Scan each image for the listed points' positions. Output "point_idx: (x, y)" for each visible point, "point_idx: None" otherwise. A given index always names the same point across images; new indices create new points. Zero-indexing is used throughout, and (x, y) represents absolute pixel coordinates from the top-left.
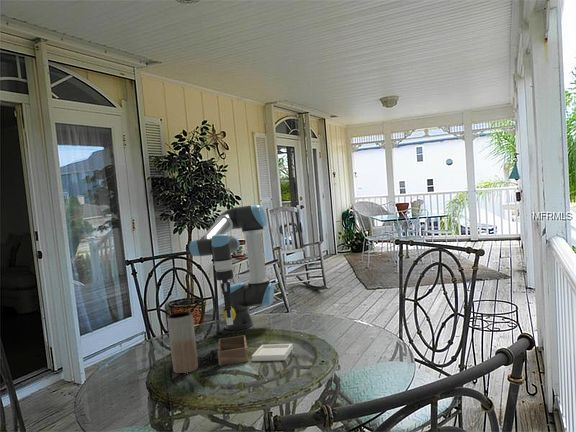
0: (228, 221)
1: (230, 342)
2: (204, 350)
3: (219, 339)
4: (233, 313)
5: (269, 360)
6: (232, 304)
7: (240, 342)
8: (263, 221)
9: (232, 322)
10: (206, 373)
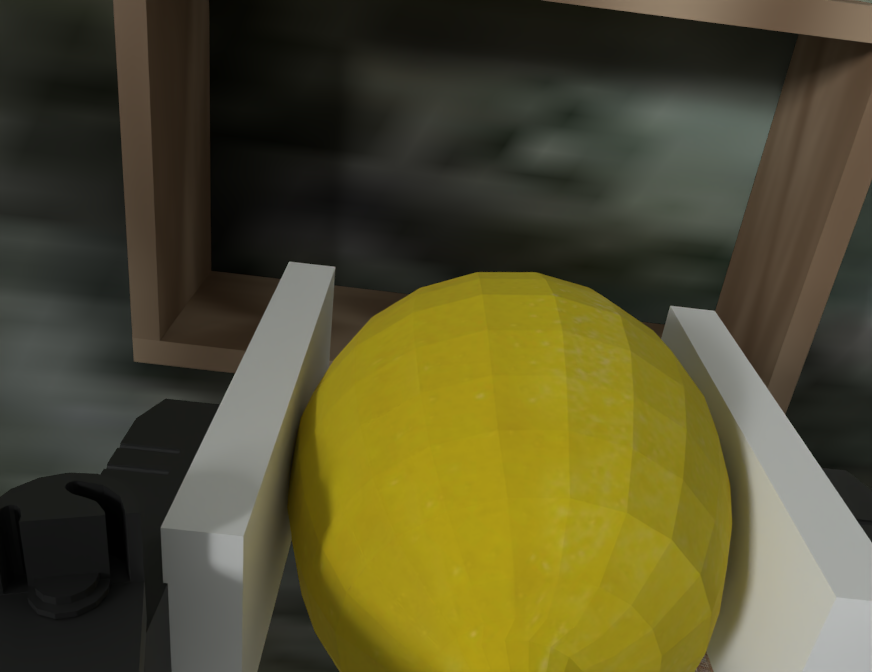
0: None
1: (179, 178)
2: (77, 440)
3: (166, 353)
4: (698, 407)
5: None
6: (108, 517)
7: (183, 14)
8: None
9: (725, 348)
10: (862, 477)
